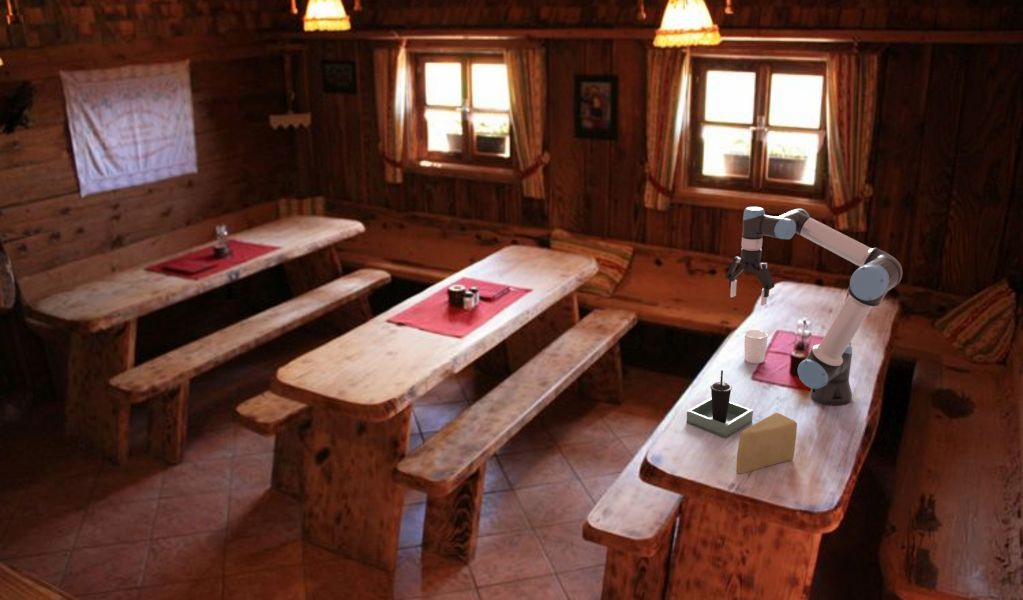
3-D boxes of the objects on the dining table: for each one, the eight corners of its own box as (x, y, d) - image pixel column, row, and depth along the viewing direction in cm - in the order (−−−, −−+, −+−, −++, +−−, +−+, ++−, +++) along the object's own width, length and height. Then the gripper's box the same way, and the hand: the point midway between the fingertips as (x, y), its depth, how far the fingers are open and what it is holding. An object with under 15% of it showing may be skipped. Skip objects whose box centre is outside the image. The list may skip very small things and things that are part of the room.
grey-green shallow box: (752, 422, 326) (752, 410, 325) (725, 438, 316) (726, 425, 314) (713, 407, 338) (714, 395, 336) (686, 422, 327) (687, 410, 326)
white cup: (761, 366, 373) (763, 339, 369) (739, 361, 378) (741, 335, 374) (768, 358, 380) (770, 332, 376) (747, 353, 385) (749, 328, 381)
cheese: (748, 480, 289) (751, 439, 284) (726, 467, 297) (729, 427, 292) (795, 460, 300) (798, 421, 295) (773, 448, 308) (776, 410, 303)
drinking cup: (713, 413, 332) (716, 364, 325) (733, 418, 327) (736, 369, 321) (705, 421, 326) (707, 372, 319) (725, 426, 322) (728, 376, 315)
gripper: (786, 252, 329) (782, 305, 336) (729, 239, 346) (726, 290, 353) (775, 256, 324) (771, 310, 331) (718, 243, 341) (715, 295, 349)
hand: (748, 300), depth 342 cm, fingers open, 13 cm apart
